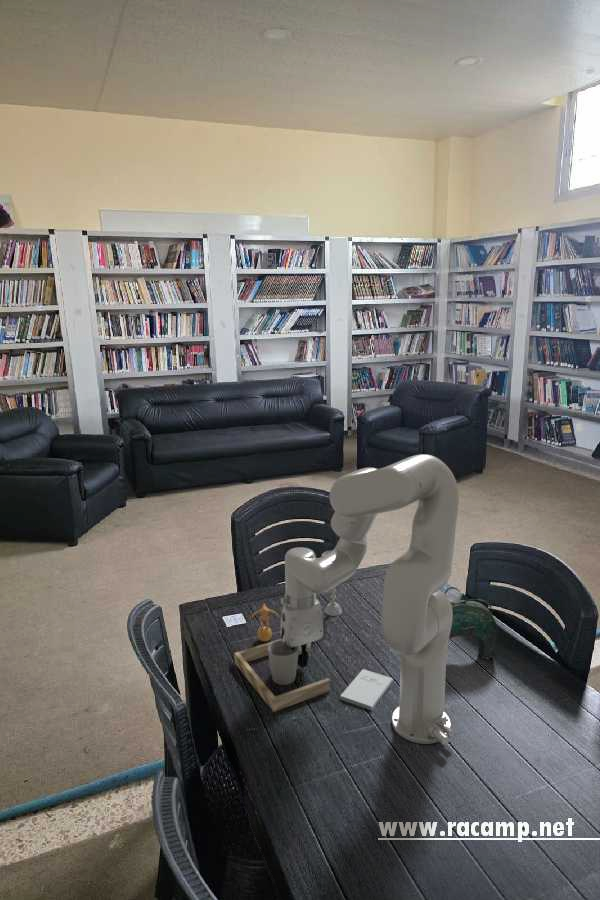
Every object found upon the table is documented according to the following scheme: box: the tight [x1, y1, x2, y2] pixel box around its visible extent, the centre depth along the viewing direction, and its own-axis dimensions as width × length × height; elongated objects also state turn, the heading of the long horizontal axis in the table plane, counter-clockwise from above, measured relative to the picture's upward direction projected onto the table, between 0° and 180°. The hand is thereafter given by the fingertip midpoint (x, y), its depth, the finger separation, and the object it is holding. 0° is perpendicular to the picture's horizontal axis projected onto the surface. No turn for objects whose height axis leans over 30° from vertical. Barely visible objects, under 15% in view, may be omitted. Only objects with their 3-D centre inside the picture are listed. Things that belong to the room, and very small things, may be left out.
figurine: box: [248, 603, 281, 643], centre depth 167 cm, size 8×6×12 cm
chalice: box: [321, 549, 343, 617], centre depth 182 cm, size 7×7×18 cm
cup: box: [268, 639, 299, 686], centre depth 153 cm, size 8×10×8 cm
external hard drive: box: [339, 669, 394, 711], centre depth 148 cm, size 2×8×12 cm
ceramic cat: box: [444, 586, 499, 659], centre depth 158 cm, size 20×6×20 cm, turn 92°
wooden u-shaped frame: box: [234, 638, 331, 713], centre depth 153 cm, size 22×15×3 cm
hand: (301, 664), depth 156 cm, fingers closed
